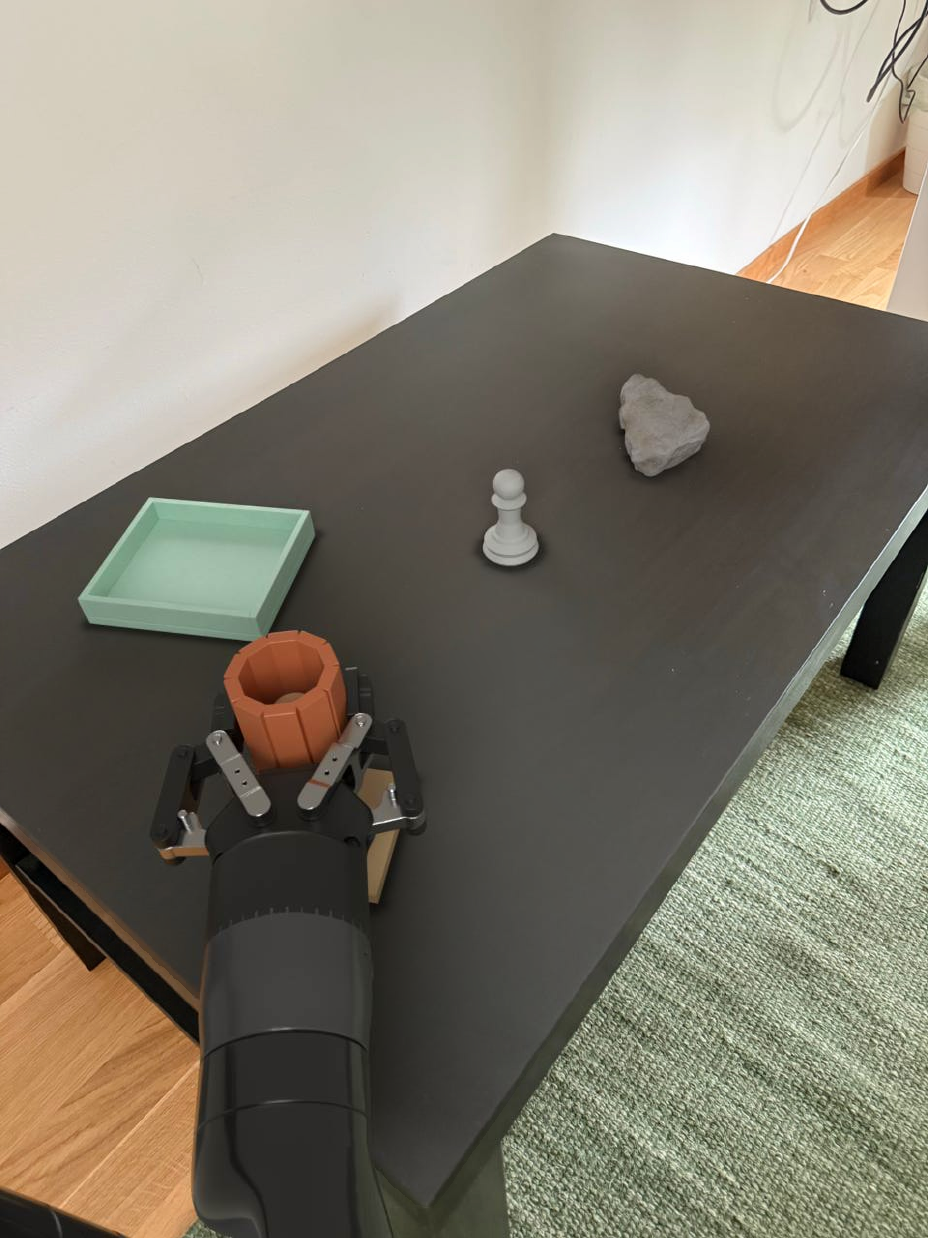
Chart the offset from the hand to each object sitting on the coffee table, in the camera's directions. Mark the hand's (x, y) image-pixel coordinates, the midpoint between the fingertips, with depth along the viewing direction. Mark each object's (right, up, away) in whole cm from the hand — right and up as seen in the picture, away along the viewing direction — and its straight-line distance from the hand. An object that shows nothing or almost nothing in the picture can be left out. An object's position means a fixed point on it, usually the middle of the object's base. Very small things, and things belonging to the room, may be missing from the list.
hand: (294, 684), depth 54 cm
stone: (+28, +20, +34) cm, 48 cm away
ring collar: (+1, -5, +2) cm, 6 cm away
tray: (-12, +7, +25) cm, 29 cm away
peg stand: (+1, -10, +7) cm, 12 cm away
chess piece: (+14, +10, +25) cm, 30 cm away
